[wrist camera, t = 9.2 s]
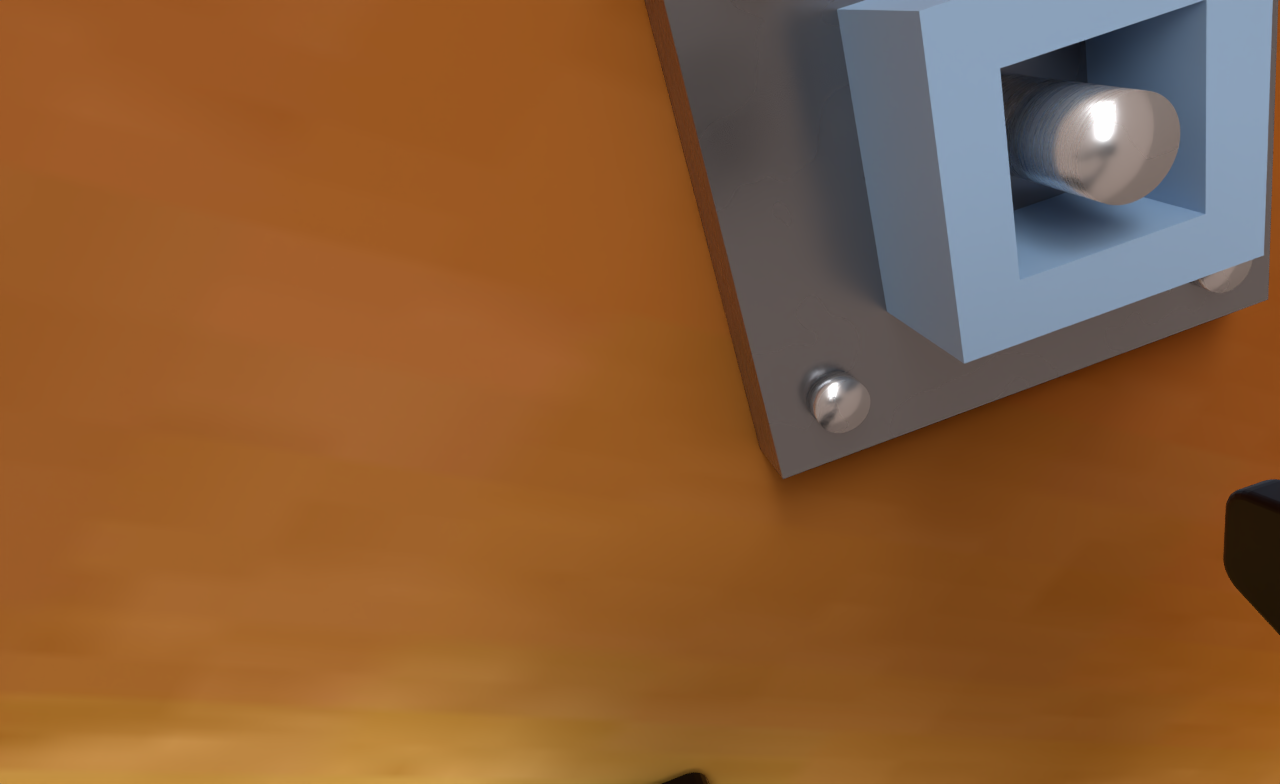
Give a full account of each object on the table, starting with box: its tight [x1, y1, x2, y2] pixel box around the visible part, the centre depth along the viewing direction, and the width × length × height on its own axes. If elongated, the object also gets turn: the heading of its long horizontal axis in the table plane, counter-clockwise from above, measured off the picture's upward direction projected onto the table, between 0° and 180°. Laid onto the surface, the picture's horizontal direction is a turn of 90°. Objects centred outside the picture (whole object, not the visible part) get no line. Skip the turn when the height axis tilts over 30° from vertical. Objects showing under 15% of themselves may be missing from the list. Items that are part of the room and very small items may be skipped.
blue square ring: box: [837, 0, 1273, 364], centre depth 16 cm, size 6×6×3 cm
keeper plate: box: [645, 0, 1278, 479], centre depth 17 cm, size 12×12×5 cm
